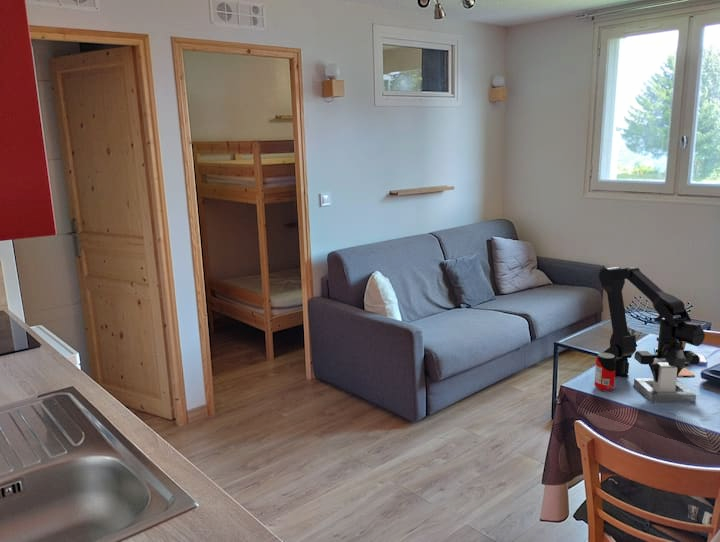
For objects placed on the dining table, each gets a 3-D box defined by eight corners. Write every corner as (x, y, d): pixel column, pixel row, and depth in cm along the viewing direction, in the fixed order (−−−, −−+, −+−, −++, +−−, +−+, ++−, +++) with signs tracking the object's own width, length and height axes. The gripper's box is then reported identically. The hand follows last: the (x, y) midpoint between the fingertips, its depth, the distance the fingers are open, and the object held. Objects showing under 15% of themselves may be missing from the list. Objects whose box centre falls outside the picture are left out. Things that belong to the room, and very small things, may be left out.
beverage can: (615, 392, 191) (617, 359, 189) (595, 391, 193) (597, 357, 191) (612, 385, 197) (615, 352, 195) (593, 383, 199) (595, 351, 197)
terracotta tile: (668, 376, 204) (669, 375, 204) (657, 367, 213) (657, 366, 213) (694, 376, 203) (695, 375, 203) (682, 367, 212) (682, 366, 212)
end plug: (659, 396, 188) (661, 367, 186) (652, 390, 193) (654, 362, 191) (674, 396, 188) (677, 367, 186) (667, 390, 193) (670, 362, 191)
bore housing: (651, 401, 184) (652, 394, 183) (633, 385, 197) (634, 378, 197) (695, 402, 183) (696, 394, 183) (674, 385, 197) (675, 378, 196)
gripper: (650, 345, 179) (646, 391, 182) (711, 345, 178) (706, 391, 181) (635, 334, 190) (631, 378, 193) (693, 334, 189) (688, 378, 192)
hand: (664, 381), depth 189 cm, fingers closed on end plug, 5 cm apart
